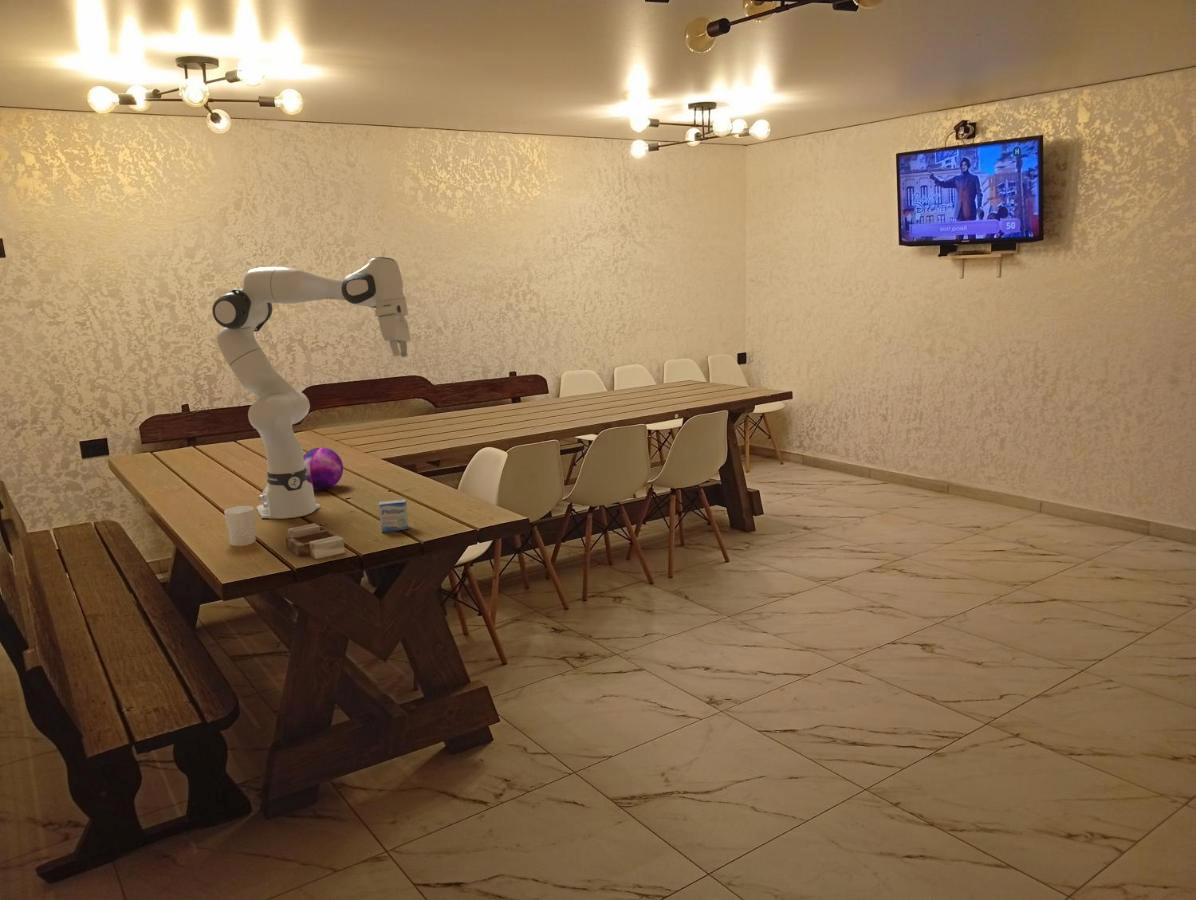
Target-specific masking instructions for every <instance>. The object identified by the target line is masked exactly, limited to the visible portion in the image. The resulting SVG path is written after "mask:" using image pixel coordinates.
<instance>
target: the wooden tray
mask: <svg viewBox="0 0 1196 900" xmlns="http://www.w3.org/2000/svg"><path fill="white" fill-rule="evenodd" d="M287 535H288V537H286V538H285V541H286V549H287V548H288V549H287V550H288V551H290V550H291V551H290V552H292V553H293V552H294V554H295V555H296V554H297V556H298V557H304V556H308V555H310V556H311V557H312V558H314V559H316V560H319V559H323V558H327V557H332V556H336V555H340V554H343V553H344V554H345V544H344V538H343V537H341V536H339V535H334V536H329V532H328V529H323V530H321V526H320V525H319V524H316V523H315V522H314V523H309V524H304V525H300V526H296V527H291V528H287Z"/></svg>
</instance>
